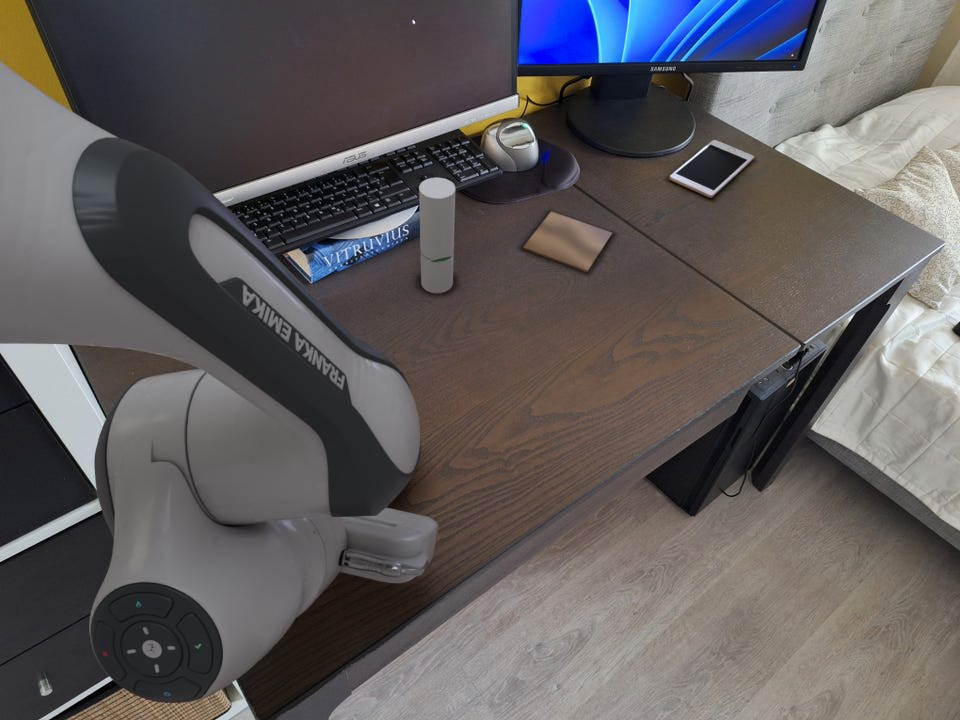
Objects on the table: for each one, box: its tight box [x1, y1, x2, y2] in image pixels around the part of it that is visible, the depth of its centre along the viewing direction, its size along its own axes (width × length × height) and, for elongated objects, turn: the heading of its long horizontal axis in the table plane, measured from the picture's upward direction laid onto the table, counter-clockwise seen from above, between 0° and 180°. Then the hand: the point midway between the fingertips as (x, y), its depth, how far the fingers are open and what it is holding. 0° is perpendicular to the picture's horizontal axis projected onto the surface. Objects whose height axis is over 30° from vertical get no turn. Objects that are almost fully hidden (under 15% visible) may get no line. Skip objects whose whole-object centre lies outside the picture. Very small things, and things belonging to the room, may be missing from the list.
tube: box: [418, 177, 456, 294], centre depth 85 cm, size 4×4×15 cm
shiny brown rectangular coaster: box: [522, 211, 613, 274], centre depth 98 cm, size 10×10×1 cm
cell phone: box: [669, 139, 755, 199], centre depth 112 cm, size 8×16×1 cm, turn 140°
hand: (342, 499), depth 63 cm, fingers closed, pressing on flower pot
